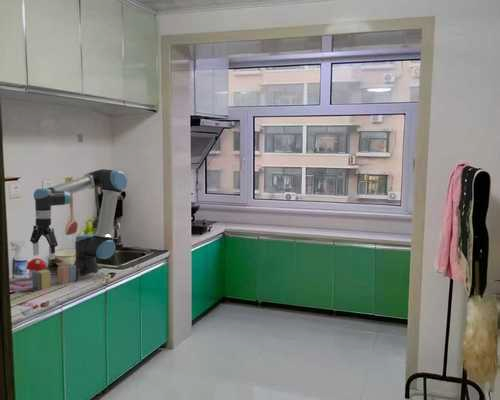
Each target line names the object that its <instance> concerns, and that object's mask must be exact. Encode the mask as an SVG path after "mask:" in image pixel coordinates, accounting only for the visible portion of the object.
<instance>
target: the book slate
mask: <svg viewBox="0 0 500 400" xmlns="http://www.w3.org/2000/svg"><path fill="white" fill-rule="evenodd" d="M63 266H67V267H70V283H75V282H74V281H76V265H74V264H71V263H70V264H65V265H63ZM76 282H77V281H76Z"/></svg>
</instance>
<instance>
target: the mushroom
mask: <svg viewBox="0 0 500 400" xmlns="http://www.w3.org/2000/svg"><path fill="white" fill-rule="evenodd" d="M25 263H26V264H27V265H26V270H28V276H29V279H30V280H31V279H32V272H36V273H37V272H38V271H43V270H46V268H47V267H48V266H47V264H46V262H45V261H44V260H43V259H41V258H33V259H31V260H30V259H28V260H26V262H25Z"/></svg>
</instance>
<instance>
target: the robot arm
mask: <svg viewBox="0 0 500 400" xmlns="http://www.w3.org/2000/svg"><path fill="white" fill-rule="evenodd" d="M127 179H128V178H127V176H126V175H125V173H124V172H123V171H122V170H117V169H105V168H103V169H97V170H93V171H91V172H87V173H85V174H84V175H83V176H81V177H78V178H75V179H72V180H69V181H66V182H63V183H60V184H56V185H54V186H49V187H47V188H36V190H35V191H34V193H33V199H34V202H35V204H34V205H35V225H33V229H32V233H31V236H30V240H29V242H30V243H32V250H33V253H32V254H33V256H39V255H40V252H39V251H40V250H39V248H40V247H39V245H40V244H39V240H40V239H41V237H42V236H44V237H45V239H46V241H47V244H48V245H49V246H48V259H49V260H55V259H56V257H55V255H56V254H55V253H56V247H58V246H59V244H58V241H57V238H56V234H55V231H54V230H55V229H54V227H51V228H50V226H51V225H52V218H51V217H52V206H53V207H54V206H64V205H68V204H70V203H71V202H72V195H73V194H75V193H78V192H81V191H84V190H87V189H89V190H92V189H95V188H99V189H101V192H102V194H103V195H102V199H101V200H102V201H101V204H100V205H101V206H100V211H99V216H98V220H97V221H98V222H97V227H96V232H95V233H87V234H80V235H77V236H76V237H75V241H74V242H75V245H74V246H75V247H74V248H75V260H74V263H73V265H76V268H78V269H79V274H81V273H82V274H87V273H92V274H95V273H97V272H99V266H98V263H97V259H100V260H101V259H102V260H106V259H107V260H108V259H109V258H111V257H112V256H113V255H114V253H115V251H116V244H115V242H114V237H113V235H112V230H113V226H114V220H115V213H116V208H117V203H118V198H119V196H120V195H121V194H122V191H123V190H124V189H125V188H126V187H127V183H128V180H127ZM96 258H97V259H96Z"/></svg>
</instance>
